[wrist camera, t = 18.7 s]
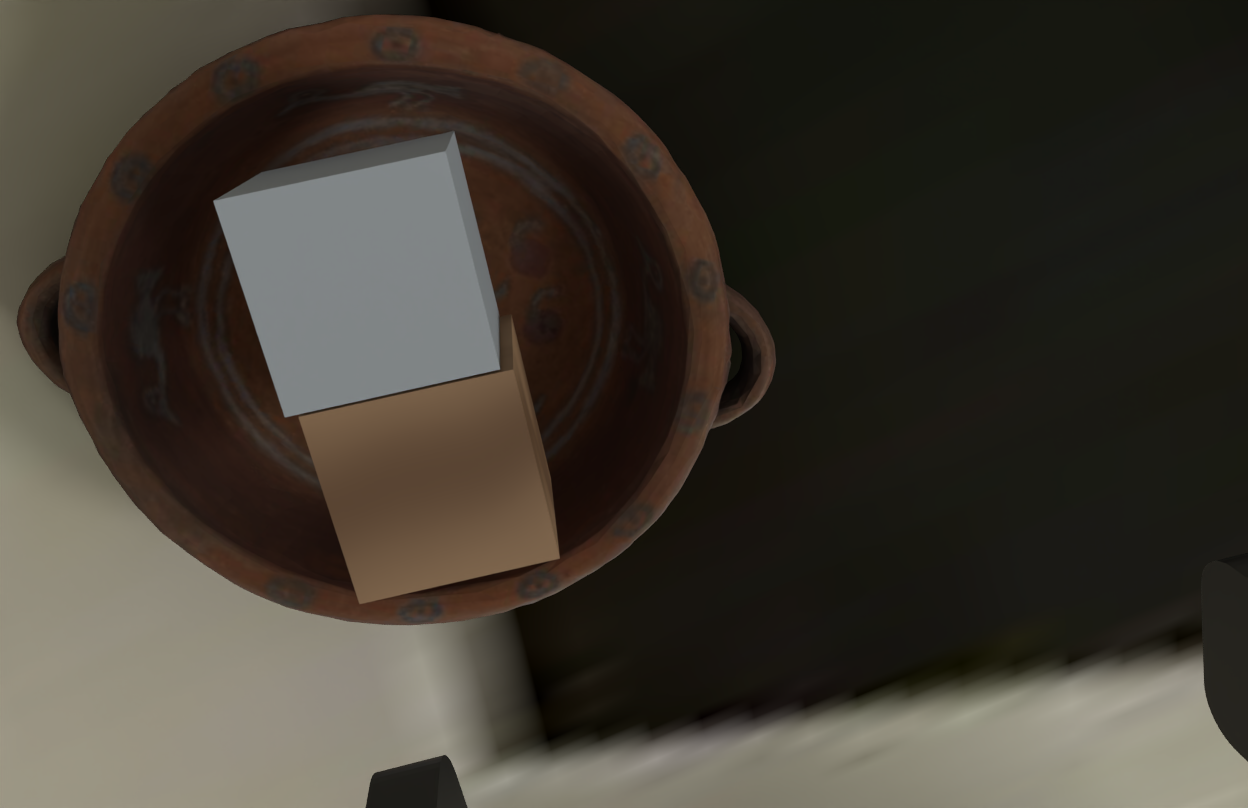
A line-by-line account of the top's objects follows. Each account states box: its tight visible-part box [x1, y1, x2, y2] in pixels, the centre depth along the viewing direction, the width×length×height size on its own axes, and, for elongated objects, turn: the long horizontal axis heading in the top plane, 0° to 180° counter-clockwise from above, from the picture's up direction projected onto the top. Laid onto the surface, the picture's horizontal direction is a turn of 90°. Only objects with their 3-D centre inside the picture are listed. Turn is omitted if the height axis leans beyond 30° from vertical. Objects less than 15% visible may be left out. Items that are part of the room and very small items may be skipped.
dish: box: [17, 14, 776, 625], centre depth 32 cm, size 18×22×5 cm
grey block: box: [213, 131, 500, 417], centre depth 26 cm, size 5×5×5 cm
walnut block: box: [299, 314, 560, 604], centre depth 28 cm, size 5×5×5 cm
